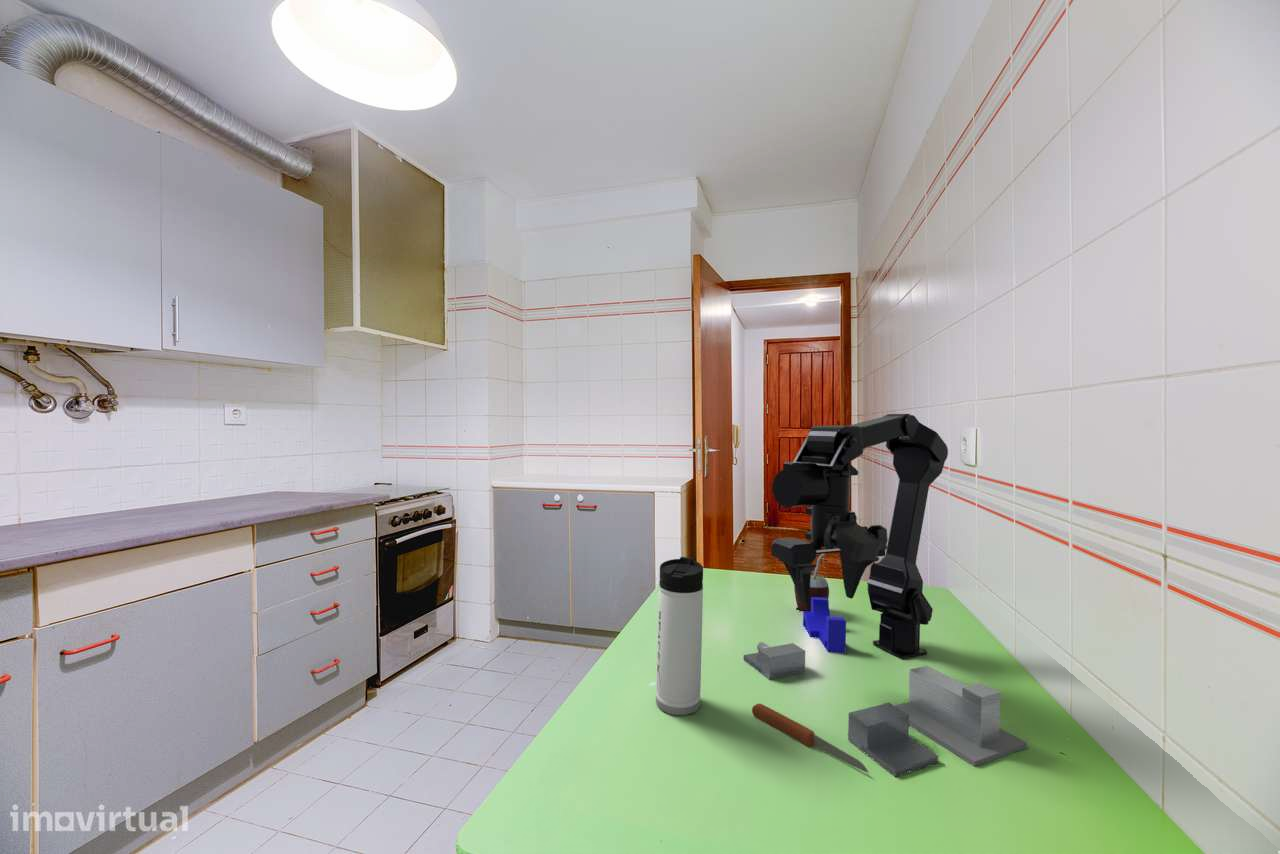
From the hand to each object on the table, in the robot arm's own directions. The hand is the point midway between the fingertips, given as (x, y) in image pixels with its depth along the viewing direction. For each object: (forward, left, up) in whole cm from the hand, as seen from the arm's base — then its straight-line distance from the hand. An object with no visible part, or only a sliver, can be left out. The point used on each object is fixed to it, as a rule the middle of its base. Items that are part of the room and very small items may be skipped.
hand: (827, 600), depth 79 cm
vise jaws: (+6, +6, -12) cm, 15 cm away
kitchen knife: (+15, +12, -13) cm, 23 cm away
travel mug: (+26, -1, -12) cm, 29 cm away
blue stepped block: (-10, -11, -12) cm, 20 cm away
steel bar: (-6, +17, -11) cm, 21 cm away
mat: (-6, +17, -12) cm, 22 cm away
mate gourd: (-17, -22, -12) cm, 30 cm away
